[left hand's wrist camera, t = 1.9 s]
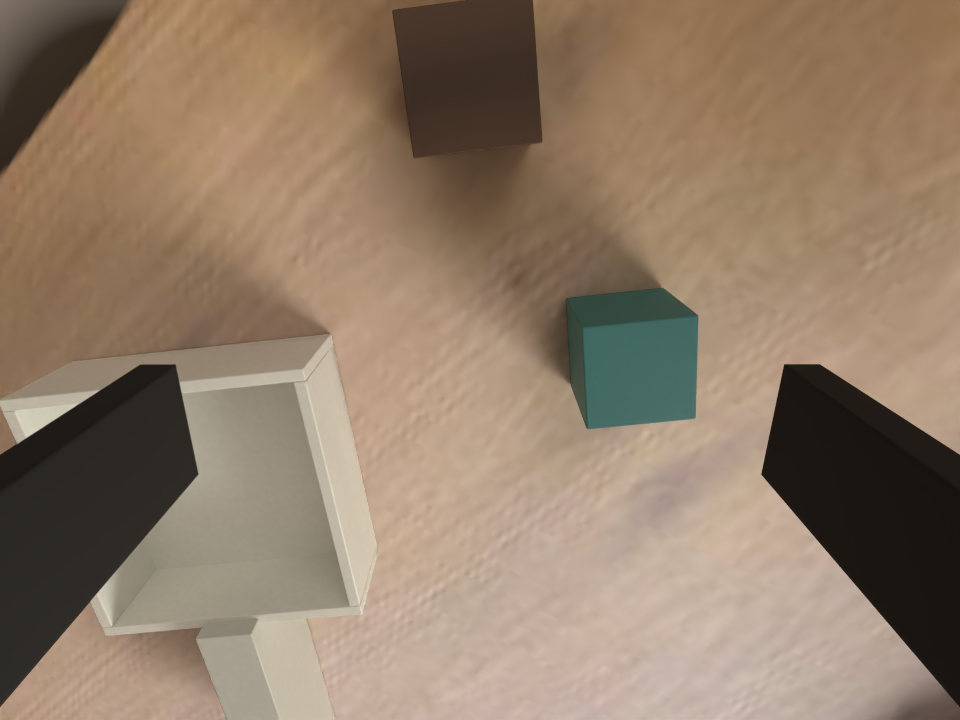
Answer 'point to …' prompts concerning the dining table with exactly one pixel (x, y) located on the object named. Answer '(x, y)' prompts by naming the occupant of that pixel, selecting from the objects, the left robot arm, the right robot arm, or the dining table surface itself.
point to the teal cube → (632, 357)
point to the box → (242, 516)
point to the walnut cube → (469, 75)
